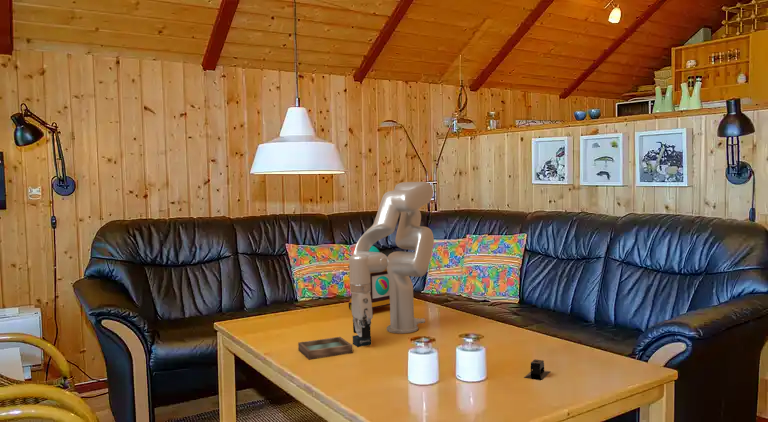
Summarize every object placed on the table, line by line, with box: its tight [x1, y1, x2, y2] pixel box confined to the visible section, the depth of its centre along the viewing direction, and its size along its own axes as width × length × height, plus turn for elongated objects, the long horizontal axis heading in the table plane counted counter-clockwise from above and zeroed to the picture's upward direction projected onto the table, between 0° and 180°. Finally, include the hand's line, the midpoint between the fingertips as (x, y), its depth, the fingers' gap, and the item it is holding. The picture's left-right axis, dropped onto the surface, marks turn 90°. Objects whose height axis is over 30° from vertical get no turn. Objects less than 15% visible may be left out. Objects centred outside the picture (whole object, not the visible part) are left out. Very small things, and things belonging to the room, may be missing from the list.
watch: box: [352, 318, 372, 348], centre depth 221 cm, size 6×8×11 cm
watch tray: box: [297, 336, 353, 360], centre depth 214 cm, size 16×13×3 cm
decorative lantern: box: [347, 245, 390, 314], centre depth 281 cm, size 20×20×30 cm
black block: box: [523, 358, 551, 381], centre depth 182 cm, size 12×7×5 cm, turn 148°
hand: (361, 334), depth 221 cm, fingers closed on watch, 8 cm apart
